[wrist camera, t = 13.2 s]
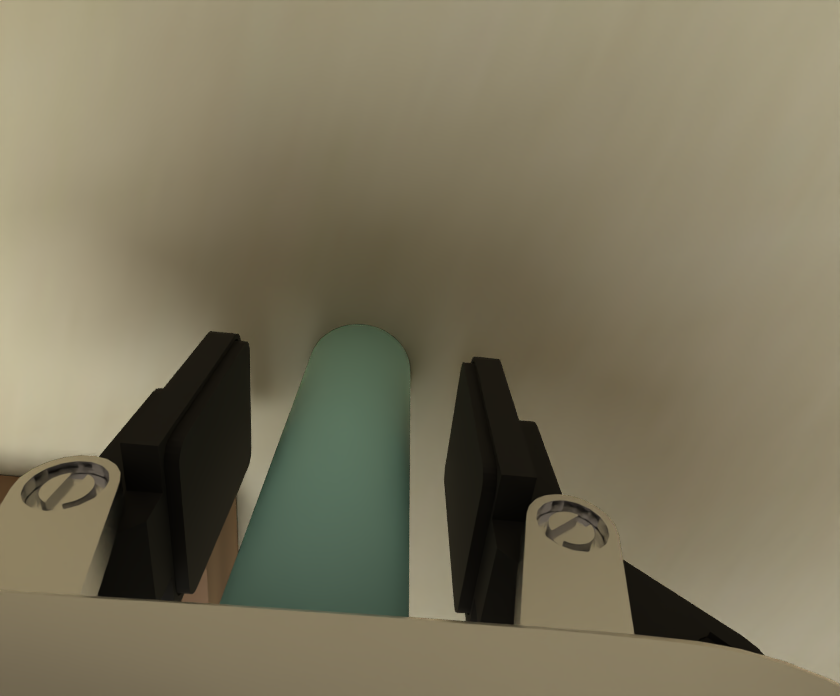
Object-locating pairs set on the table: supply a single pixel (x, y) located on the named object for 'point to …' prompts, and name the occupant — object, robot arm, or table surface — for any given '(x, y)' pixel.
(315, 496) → the pin
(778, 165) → the table surface
